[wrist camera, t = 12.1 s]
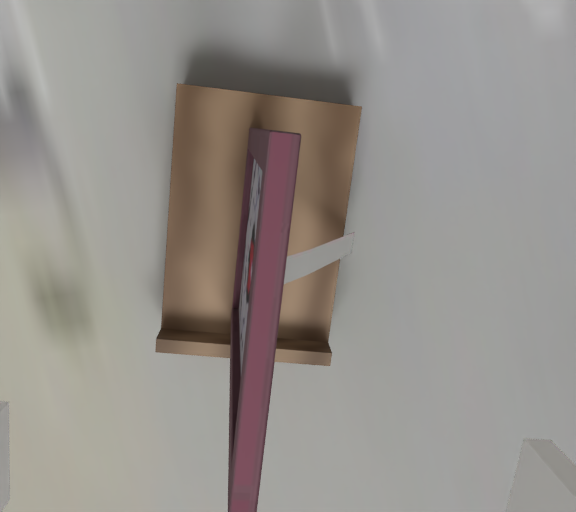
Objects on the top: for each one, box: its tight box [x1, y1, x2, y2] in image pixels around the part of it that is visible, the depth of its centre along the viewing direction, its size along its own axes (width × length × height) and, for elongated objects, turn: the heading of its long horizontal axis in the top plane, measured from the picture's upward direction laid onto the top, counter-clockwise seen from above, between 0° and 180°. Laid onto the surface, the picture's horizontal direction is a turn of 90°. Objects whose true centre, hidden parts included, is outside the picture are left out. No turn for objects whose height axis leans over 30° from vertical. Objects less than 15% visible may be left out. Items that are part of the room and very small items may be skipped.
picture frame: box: [228, 128, 354, 512], centre depth 33 cm, size 17×10×25 cm, turn 173°
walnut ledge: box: [156, 83, 362, 366], centre depth 45 cm, size 15×22×6 cm
